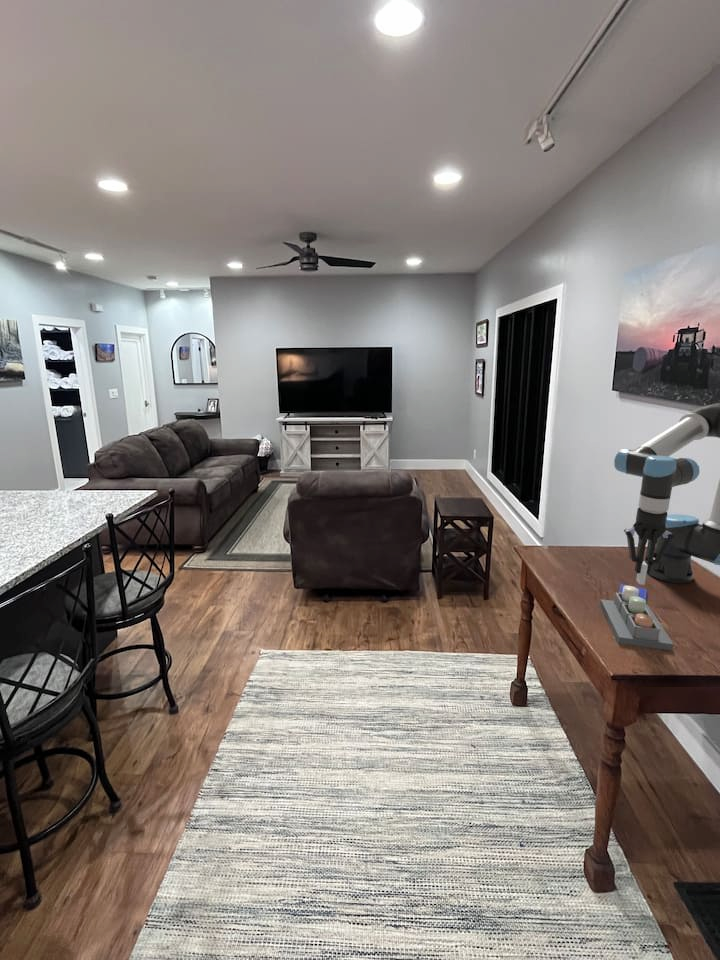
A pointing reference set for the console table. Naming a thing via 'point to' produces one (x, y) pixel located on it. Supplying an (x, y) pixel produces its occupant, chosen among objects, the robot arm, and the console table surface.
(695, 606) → the console table surface
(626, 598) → the button ivory
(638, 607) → the button sage
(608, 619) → the button board
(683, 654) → the console table surface
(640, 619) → the button terracotta
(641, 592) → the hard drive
